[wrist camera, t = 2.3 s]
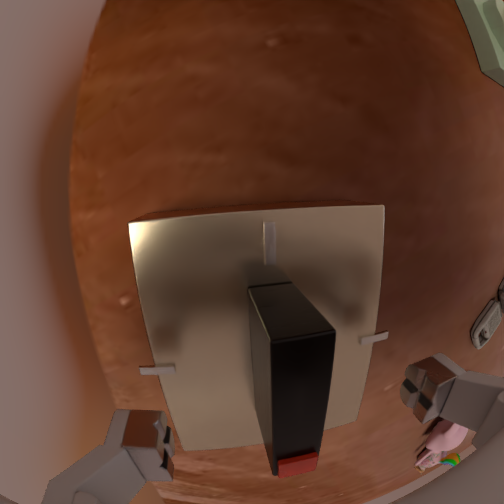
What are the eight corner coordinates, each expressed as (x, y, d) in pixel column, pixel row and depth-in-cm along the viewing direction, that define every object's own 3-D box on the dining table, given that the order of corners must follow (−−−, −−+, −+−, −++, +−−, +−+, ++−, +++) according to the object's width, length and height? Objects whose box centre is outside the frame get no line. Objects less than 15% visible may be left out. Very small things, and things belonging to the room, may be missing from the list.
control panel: (132, 214, 11) (107, 224, 8) (359, 199, 12) (399, 204, 9) (174, 412, 13) (171, 454, 10) (344, 386, 15) (367, 419, 12)
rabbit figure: (436, 439, 23) (480, 367, 17) (457, 469, 17) (516, 406, 11) (397, 464, 22) (433, 402, 16) (416, 497, 17) (470, 450, 11)
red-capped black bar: (247, 287, 9) (272, 347, 6) (294, 282, 9) (342, 334, 6) (256, 414, 11) (274, 482, 7) (292, 408, 11) (319, 471, 7)
